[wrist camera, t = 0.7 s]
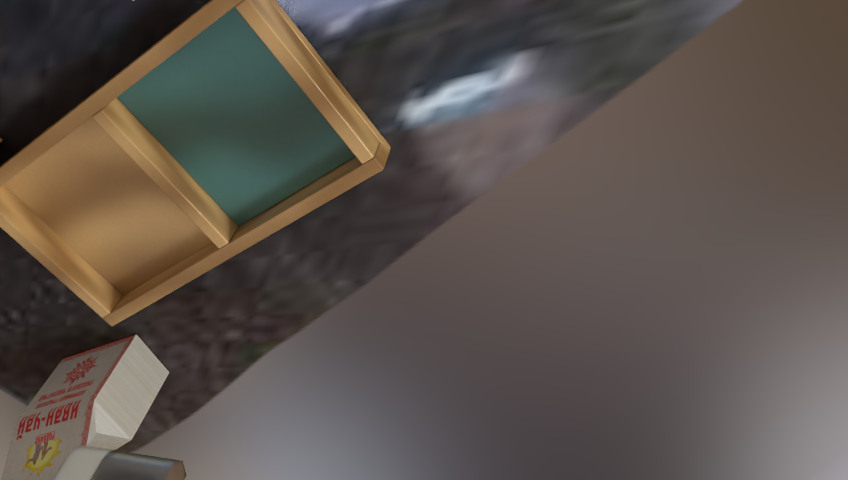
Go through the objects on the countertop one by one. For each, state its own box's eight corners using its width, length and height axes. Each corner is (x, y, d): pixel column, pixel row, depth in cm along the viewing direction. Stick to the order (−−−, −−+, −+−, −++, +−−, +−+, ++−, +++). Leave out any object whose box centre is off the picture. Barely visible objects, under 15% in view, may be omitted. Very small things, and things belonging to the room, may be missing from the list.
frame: (-11, 174, 44) (-36, 195, 43) (251, -33, 36) (234, -18, 34) (128, 302, 49) (111, 327, 47) (391, 147, 40) (383, 169, 38)
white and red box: (169, 372, 52) (101, 494, 44) (96, 394, 55) (18, 514, 46) (136, 334, 51) (59, 454, 42) (62, 358, 53) (-25, 476, 45)
